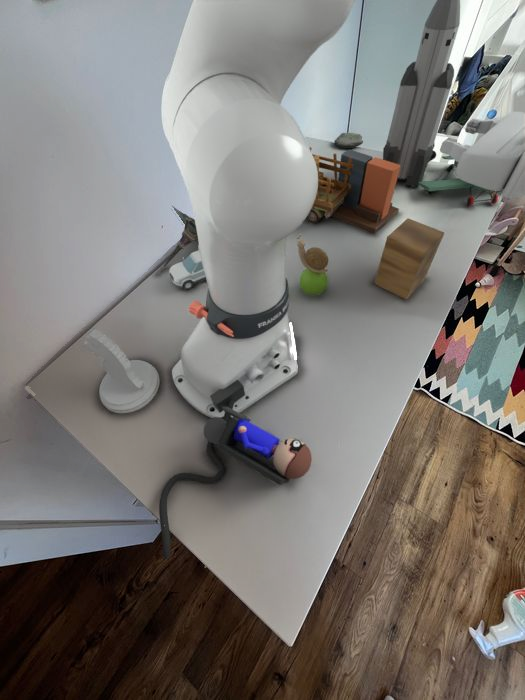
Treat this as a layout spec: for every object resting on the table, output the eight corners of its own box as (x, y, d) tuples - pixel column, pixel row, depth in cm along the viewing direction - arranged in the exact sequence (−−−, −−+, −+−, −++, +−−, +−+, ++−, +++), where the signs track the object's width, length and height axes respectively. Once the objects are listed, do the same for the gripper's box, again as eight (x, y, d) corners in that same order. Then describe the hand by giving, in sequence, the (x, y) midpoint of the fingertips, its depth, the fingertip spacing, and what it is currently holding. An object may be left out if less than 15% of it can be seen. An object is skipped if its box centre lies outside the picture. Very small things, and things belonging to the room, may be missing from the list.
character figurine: (229, 413, 54) (314, 463, 48) (200, 451, 50) (289, 510, 44) (224, 386, 47) (321, 440, 42) (190, 426, 44) (293, 491, 38)
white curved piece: (128, 354, 61) (89, 295, 49) (171, 375, 58) (140, 317, 46) (88, 398, 56) (34, 344, 44) (132, 423, 53) (87, 373, 41)
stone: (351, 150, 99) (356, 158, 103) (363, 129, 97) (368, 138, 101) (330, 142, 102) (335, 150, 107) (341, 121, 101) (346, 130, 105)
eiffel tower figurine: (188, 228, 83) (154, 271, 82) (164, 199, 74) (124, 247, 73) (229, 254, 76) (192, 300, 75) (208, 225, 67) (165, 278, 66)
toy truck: (265, 183, 93) (261, 121, 80) (349, 209, 83) (358, 143, 71) (242, 203, 88) (233, 141, 76) (327, 233, 78) (333, 167, 66)
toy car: (169, 278, 72) (162, 259, 68) (223, 256, 75) (220, 237, 71) (179, 294, 69) (172, 276, 65) (235, 271, 72) (232, 252, 68)
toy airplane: (544, 205, 78) (570, 153, 70) (433, 216, 79) (447, 166, 71) (494, 171, 93) (511, 126, 86) (402, 181, 94) (411, 136, 87)
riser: (406, 299, 65) (424, 252, 56) (374, 283, 68) (387, 236, 59) (424, 280, 68) (444, 232, 59) (392, 265, 71) (407, 217, 62)
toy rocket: (375, 183, 89) (415, -9, 61) (381, 167, 93) (422, -19, 65) (421, 190, 86) (486, -10, 57) (425, 173, 90) (488, -20, 62)
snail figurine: (302, 277, 70) (304, 226, 61) (331, 287, 68) (338, 235, 58) (289, 293, 68) (290, 243, 58) (319, 304, 65) (324, 254, 56)
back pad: (380, 219, 77) (393, 171, 69) (358, 210, 80) (367, 162, 71) (388, 213, 79) (400, 165, 70) (365, 204, 81) (375, 156, 72)
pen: (453, 167, 92) (457, 164, 91) (428, 196, 85) (433, 193, 84) (450, 163, 92) (455, 160, 91) (425, 191, 85) (430, 188, 83)
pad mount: (374, 234, 77) (387, 180, 67) (324, 213, 83) (329, 159, 73) (397, 214, 81) (413, 159, 71) (348, 195, 87) (356, 142, 77)
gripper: (578, 111, 54) (490, 93, 60) (531, 161, 46) (434, 135, 52) (553, 153, 59) (473, 133, 65) (507, 205, 51) (421, 176, 57)
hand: (455, 134), depth 58 cm, fingers open, 8 cm apart
